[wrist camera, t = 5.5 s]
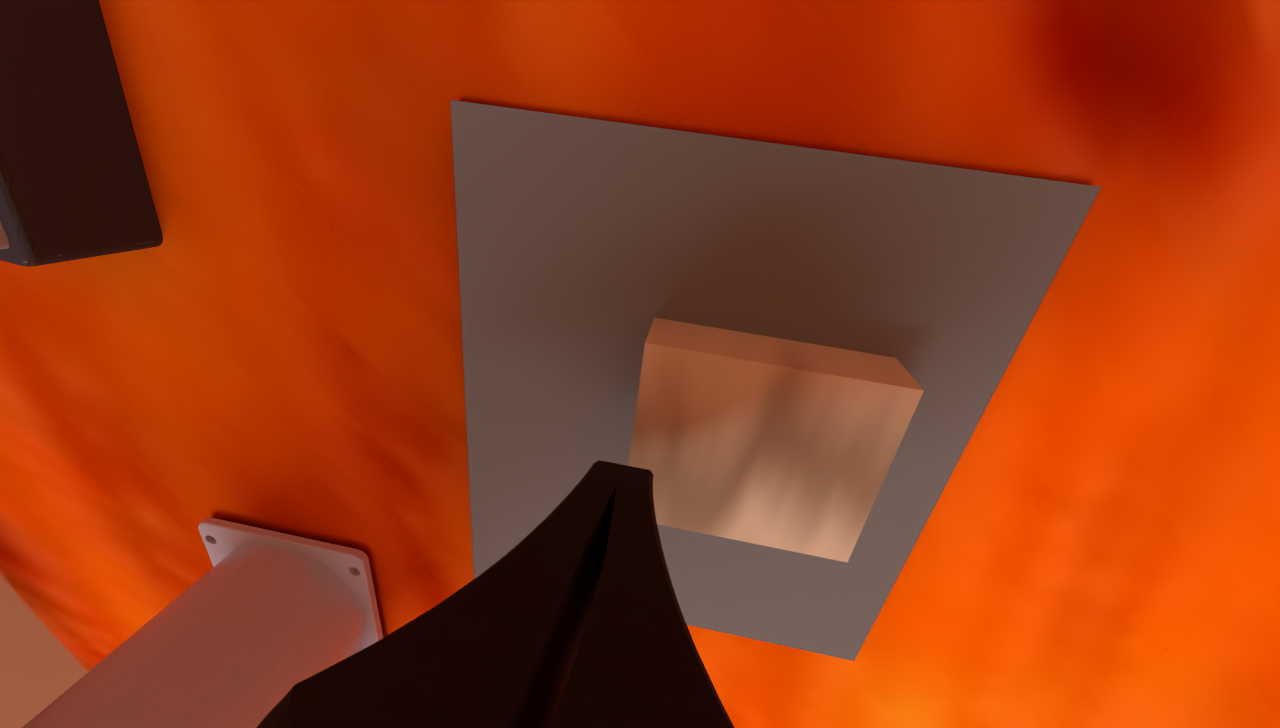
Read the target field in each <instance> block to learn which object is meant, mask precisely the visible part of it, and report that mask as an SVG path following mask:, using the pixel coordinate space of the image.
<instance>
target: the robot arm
mask: <svg viewBox="0 0 1280 728" xmlns="http://www.w3.org/2000/svg"><path fill="white" fill-rule="evenodd" d="M653 476H654V475H653V473H652V472H651V471H650V470H648V469H643V468H637V467H632V466H627V465H622V464H617V463H611V462H606V461H601V460H598V461H597V462H595V463H594V464H593V465H592V466H591V468H590V469H589V471H588V472H587V473H586V474H585V476H584V477H583V478H582V479H581V481H580V482H579V483H578V484H577V485H576V486H575V488H574V489H573V490H572V491H571V492H570V493H569V494H568V496H567V497H566V498H565V499H564V500H563V501H562V502H561V503H560V504H559V505H558V506H557V507H556V508H555V509H554V510H553V511H552V512H551V513H550V514H549V516H548V517H547V518H546V519H544V520H543V521H542V522H541V523H540V524H539V525H538V526H537V527H536V528H535V529H534V530H533V531H532V532H531V533H530V534H528V535H527V536H526V537H525V538H524V539H523V540H522V541H521V542H520V543H519V544H518V545H516V546H515V547H514V548H513V549H512V550H511V551H509V552H508V553H507V554H506V555H505V556H503V557H502V558H501V559H500V560H499V561H497V562H496V563H495V564H493V565H492V566H491V567H490V568H488V569H487V570H486V571H485V572H483V573H482V574H481V575H479V576H478V577H477V578H475V579H474V580H472V581H471V582H470V583H468V584H467V585H465V586H464V587H463V588H461V589H460V590H458V591H457V592H456V593H454V594H453V595H451V596H450V597H448V598H447V599H445V600H444V601H442V602H441V603H440V604H438V605H436V606H435V607H433V608H432V609H430V610H429V611H427V612H425V613H424V614H422V615H420V616H419V617H417V618H416V619H414V620H412V621H411V622H409V623H407V624H406V625H404V626H402V627H401V628H399V629H397V630H396V631H394V632H392V633H391V634H389V635H388V636H386V637H384V638H383V633H382V628H381V623H380V617H379V612H378V607H377V601H376V596H375V590H374V585H373V580H372V574H371V569H370V564H369V559H368V556H367V555H366V554H365V553H364V552H363V551H361V550H358V549H354V548H350V547H345V546H341V545H336V544H331V543H327V542H322V541H318V540H313V539H308V538H304V537H299V536H295V535H290V534H285V533H281V532H276V531H272V530H267V529H262V528H258V527H253V526H249V525H244V524H239V523H235V522H230V521H226V520H221V519H216V518H207V519H205V520H204V521H202V522H201V523H200V524H199V526H198V528H199V532H200V534H201V537H202V539H203V542H204V544H205V547H206V549H207V552H208V554H209V557H210V559H211V562H212V564H213V568H212V569H211V570H210V571H208V572H207V573H206V574H205V575H204V576H202V577H201V578H200V579H199V580H198V581H196V582H195V583H194V584H193V585H192V586H191V587H189V588H188V589H187V590H186V591H185V592H183V593H182V594H181V595H180V596H179V597H177V598H176V599H175V600H174V601H173V602H171V603H170V604H169V605H168V606H167V607H165V608H164V609H163V610H162V611H161V612H159V613H158V614H157V615H156V616H155V617H154V618H152V619H151V620H150V621H149V622H148V623H146V624H145V625H144V626H143V627H142V628H140V629H139V630H138V631H137V632H136V633H134V634H133V635H132V636H131V637H130V638H128V639H127V640H126V641H125V642H124V643H122V644H121V645H120V646H119V647H118V648H116V649H115V650H114V651H113V652H112V653H111V654H109V655H108V656H107V657H106V658H105V659H103V660H102V661H101V662H100V663H99V664H97V665H96V666H95V667H94V668H93V669H91V670H90V671H89V672H88V673H87V674H85V675H84V676H83V677H82V678H81V679H79V680H78V681H77V682H76V683H75V684H74V685H72V686H71V687H70V688H69V689H68V690H66V691H65V692H64V693H63V694H62V695H60V696H59V697H58V698H57V699H56V700H54V701H53V702H52V703H51V704H50V705H48V706H47V707H46V708H45V709H44V710H43V711H41V712H40V713H39V714H38V715H37V716H35V717H34V718H33V719H32V720H31V721H29V722H28V723H27V724H26V725H25V726H23V727H22V728H734V726H733V724H732V722H731V720H730V718H729V716H728V714H727V712H726V710H725V709H724V707H723V705H722V703H721V701H720V699H719V697H718V695H717V692H716V690H715V688H714V686H713V684H712V682H711V680H710V677H709V675H708V673H707V671H706V669H705V667H704V664H703V662H702V660H701V658H700V656H699V654H698V652H697V649H696V647H695V645H694V642H693V640H692V637H691V635H690V632H689V630H688V627H687V625H686V622H685V619H684V617H683V614H682V611H681V609H680V606H679V603H678V600H677V597H676V594H675V591H674V588H673V585H672V582H671V579H670V575H669V572H668V568H667V565H666V561H665V557H664V553H663V549H662V545H661V540H660V536H659V531H658V526H657V521H656V515H655V508H654V499H653Z"/></svg>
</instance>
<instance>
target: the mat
mask: <svg viewBox="0 0 1280 728" xmlns="http://www.w3.org/2000/svg"><path fill="white" fill-rule="evenodd" d="M450 101H451V121H452V141H453V162H454V182H455V202H456V222H457V243H458V263H459V283H460V304H461V324H462V344H463V365H464V385H465V405H466V425H467V446H468V466H469V486H470V507H471V527H472V547H473V567H474V578H477V577H478V576H479V575H481V574H482V573H483V572H485V571H486V570H487V569H488V568H490V567H491V566H492V565H493V564H495V563H496V562H497V561H499V560H500V559H501V558H502V557H503V556H505V555H506V554H507V553H508V552H509V551H511V550H512V549H513V548H514V547H515V546H516V545H518V544H519V543H520V542H521V541H522V540H523V539H524V538H525V537H526V536H527V535H528V534H530V533H531V532H532V531H533V530H534V529H535V528H536V527H537V526H538V525H539V524H540V523H541V522H542V521H543V520H544V519H546V518H547V517H548V516H549V514H550V513H551V512H552V511H553V510H554V509H555V508H556V507H557V506H558V505H559V504H560V503H561V502H562V501H563V500H564V499H565V498H566V497H567V496H568V494H569V493H570V492H571V491H572V490H573V489H574V488H575V486H576V485H577V484H578V483H579V482H580V481H581V479H582V478H583V477H584V476H585V474H586V473H587V472H588V471H589V469H590V468H591V466H592V465H593V464H594V463H595V462H597V461H598V460H601V461H606V462H611V463H617V464H622V465H627V466H628V463H629V455H630V448H631V441H632V434H633V426H634V419H635V412H636V404H637V397H638V390H639V383H640V375H641V368H642V361H643V354H644V346H645V341H646V339H647V336H648V333H649V330H650V328H651V325H652V322H653V319H654V318H660V319H666V320H672V321H678V322H684V323H690V324H696V325H702V326H708V327H714V328H720V329H726V330H732V331H738V332H744V333H750V334H756V335H762V336H768V337H774V338H780V339H786V340H792V341H798V342H804V343H810V344H816V345H822V346H828V347H834V348H840V349H846V350H852V351H858V352H864V353H870V354H876V355H882V356H888V357H894V358H896V359H897V360H898V361H899V362H900V363H901V364H902V366H903V367H904V368H905V369H906V370H907V371H908V373H909V374H910V375H911V376H912V377H913V378H914V380H915V381H916V382H917V383H918V384H919V385H920V387H921V388H922V389H923V390H924V392H923V394H922V396H921V398H920V401H919V403H918V405H917V407H916V409H915V412H914V414H913V416H912V418H911V421H910V423H909V425H908V427H907V430H906V432H905V434H904V436H903V439H902V441H901V443H900V445H899V448H898V450H897V452H896V454H895V457H894V459H893V461H892V463H891V466H890V468H889V470H888V472H887V475H886V477H885V479H884V481H883V484H882V486H881V488H880V490H879V493H878V495H877V497H876V499H875V502H874V504H873V506H872V508H871V511H870V513H869V515H868V517H867V520H866V522H865V524H864V526H863V529H862V531H861V533H860V535H859V538H858V540H857V542H856V544H855V547H854V549H853V551H852V553H851V556H850V558H849V560H848V562H842V561H837V560H832V559H827V558H822V557H817V556H813V555H808V554H803V553H798V552H793V551H788V550H783V549H778V548H773V547H768V546H763V545H758V544H753V543H748V542H743V541H738V540H733V539H728V538H723V537H718V536H713V535H708V534H704V533H699V532H694V531H689V530H684V529H679V528H674V527H669V526H664V525H659V524H657V526H658V531H659V536H660V540H661V545H662V549H663V553H664V557H665V561H666V565H667V568H668V572H669V575H670V579H671V582H672V585H673V588H674V591H675V594H676V597H677V600H678V603H679V606H680V609H681V611H682V614H683V617H684V619H685V622H686V624H687V625H692V626H696V627H701V628H706V629H710V630H715V631H719V632H724V633H729V634H733V635H738V636H742V637H747V638H751V639H756V640H761V641H765V642H770V643H774V644H779V645H784V646H788V647H793V648H797V649H802V650H807V651H811V652H816V653H820V654H825V655H829V656H834V657H839V658H843V659H848V660H852V661H854V660H855V658H856V656H857V654H858V652H859V650H860V648H861V647H862V645H863V643H864V641H865V639H866V637H867V635H868V633H869V631H870V629H871V627H872V625H873V624H874V622H875V620H876V618H877V616H878V614H879V612H880V610H881V608H882V606H883V604H884V602H885V601H886V599H887V597H888V595H889V593H890V591H891V589H892V587H893V585H894V583H895V581H896V579H897V578H898V576H899V574H900V572H901V570H902V568H903V566H904V564H905V562H906V560H907V558H908V556H909V555H910V553H911V551H912V549H913V547H914V545H915V543H916V541H917V539H918V537H919V535H920V533H921V532H922V530H923V528H924V526H925V524H926V522H927V520H928V518H929V516H930V514H931V512H932V510H933V509H934V507H935V505H936V503H937V501H938V499H939V497H940V495H941V493H942V491H943V489H944V487H945V486H946V484H947V482H948V480H949V478H950V476H951V474H952V472H953V470H954V468H955V466H956V464H957V463H958V461H959V459H960V457H961V455H962V453H963V451H964V449H965V447H966V445H967V443H968V441H969V440H970V438H971V436H972V434H973V432H974V430H975V428H976V426H977V424H978V422H979V420H980V418H981V417H982V415H983V413H984V411H985V409H986V407H987V405H988V403H989V401H990V399H991V397H992V395H993V394H994V392H995V390H996V388H997V386H998V384H999V382H1000V380H1001V378H1002V376H1003V374H1004V372H1005V371H1006V369H1007V367H1008V365H1009V363H1010V361H1011V359H1012V357H1013V355H1014V353H1015V351H1016V349H1017V348H1018V346H1019V344H1020V342H1021V340H1022V338H1023V336H1024V334H1025V332H1026V330H1027V328H1028V326H1029V325H1030V323H1031V321H1032V319H1033V317H1034V315H1035V313H1036V311H1037V309H1038V307H1039V305H1040V303H1041V302H1042V300H1043V298H1044V296H1045V294H1046V292H1047V290H1048V288H1049V286H1050V284H1051V282H1052V280H1053V279H1054V277H1055V275H1056V273H1057V271H1058V269H1059V267H1060V265H1061V263H1062V261H1063V259H1064V257H1065V256H1066V254H1067V252H1068V250H1069V248H1070V246H1071V244H1072V242H1073V240H1074V238H1075V236H1076V234H1077V233H1078V231H1079V229H1080V227H1081V225H1082V223H1083V221H1084V219H1085V217H1086V215H1087V213H1088V211H1089V210H1090V208H1091V206H1092V204H1093V202H1094V200H1095V198H1096V196H1097V194H1098V192H1099V190H1100V188H1101V187H1099V186H1092V185H1084V184H1077V183H1069V182H1062V181H1054V180H1047V179H1039V178H1032V177H1024V176H1017V175H1009V174H1002V173H994V172H987V171H979V170H972V169H964V168H957V167H949V166H942V165H934V164H927V163H919V162H912V161H904V160H897V159H890V158H882V157H875V156H867V155H860V154H852V153H845V152H837V151H830V150H822V149H815V148H807V147H800V146H792V145H785V144H777V143H770V142H762V141H755V140H747V139H740V138H732V137H725V136H717V135H710V134H702V133H695V132H687V131H680V130H672V129H665V128H657V127H650V126H642V125H635V124H627V123H620V122H612V121H605V120H597V119H590V118H582V117H575V116H568V115H560V114H553V113H545V112H538V111H530V110H523V109H515V108H508V107H500V106H493V105H485V104H478V103H470V102H463V101H455V100H450Z"/></svg>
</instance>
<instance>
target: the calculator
mask: <svg viewBox="0 0 1280 728" xmlns="http://www.w3.org/2000/svg"><path fill="white" fill-rule="evenodd" d="M162 241H163V237H162V232H161V228H160V225H159V221H158V217H157V214H156V210H155V206H154V203H153V199H152V195H151V192H150V188H149V184H148V181H147V177H146V173H145V170H144V166H143V162H142V159H141V155H140V151H139V147H138V144H137V140H136V136H135V133H134V129H133V125H132V122H131V118H130V114H129V111H128V107H127V103H126V100H125V96H124V92H123V89H122V85H121V81H120V78H119V74H118V70H117V67H116V63H115V59H114V56H113V52H112V48H111V45H110V41H109V37H108V34H107V30H106V26H105V23H104V19H103V15H102V12H101V8H100V4H99V1H98V0H0V260H2V261H6V262H10V263H14V264H17V265H22V266H29V267H30V266H38V265H45V264H51V263H57V262H63V261H70V260H76V259H82V258H89V257H95V256H101V255H107V254H114V253H120V252H126V251H132V250H139V249H145V248H150V247H156V246H160V245H161V244H162Z"/></svg>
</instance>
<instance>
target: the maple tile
mask: <svg viewBox="0 0 1280 728" xmlns="http://www.w3.org/2000/svg"><path fill="white" fill-rule="evenodd" d="M923 392H924V390H923V389H922V388H921V387H920V385H919V384H918V383H917V382H916V381H915V380H914V378H913V377H912V376H911V375H910V374H909V373H908V371H907V370H906V369H905V368H904V367H903V366H902V364H901V363H900V362H899V361H898V360H897V359H896V358H894V357H888V356H882V355H876V354H870V353H864V352H858V351H852V350H846V349H840V348H834V347H828V346H822V345H816V344H810V343H804V342H798V341H792V340H786V339H780V338H774V337H768V336H762V335H756V334H750V333H744V332H738V331H732V330H726V329H720V328H714V327H708V326H702V325H696V324H690V323H684V322H678V321H672V320H666V319H660V318H654V319H653V322H652V325H651V328H650V330H649V333H648V336H647V339H646V341H645V346H644V354H643V361H642V368H641V375H640V383H639V390H638V397H637V404H636V412H635V419H634V426H633V434H632V441H631V448H630V455H629V463H628V466H632V467H637V468H643V469H648V470H650V471H651V472H652V473H653V475H654V476H653V499H654V508H655V515H656V521H657V524H659V525H664V526H669V527H674V528H679V529H684V530H689V531H694V532H699V533H704V534H708V535H713V536H718V537H723V538H728V539H733V540H738V541H743V542H748V543H753V544H758V545H763V546H768V547H773V548H778V549H783V550H788V551H793V552H798V553H803V554H808V555H813V556H817V557H822V558H827V559H832V560H837V561H842V562H848V560H849V558H850V556H851V553H852V551H853V549H854V547H855V544H856V542H857V540H858V538H859V535H860V533H861V531H862V529H863V526H864V524H865V522H866V520H867V517H868V515H869V513H870V511H871V508H872V506H873V504H874V502H875V499H876V497H877V495H878V493H879V490H880V488H881V486H882V484H883V481H884V479H885V477H886V475H887V472H888V470H889V468H890V466H891V463H892V461H893V459H894V457H895V454H896V452H897V450H898V448H899V445H900V443H901V441H902V439H903V436H904V434H905V432H906V430H907V427H908V425H909V423H910V421H911V418H912V416H913V414H914V412H915V409H916V407H917V405H918V403H919V401H920V398H921V396H922V394H923Z"/></svg>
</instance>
